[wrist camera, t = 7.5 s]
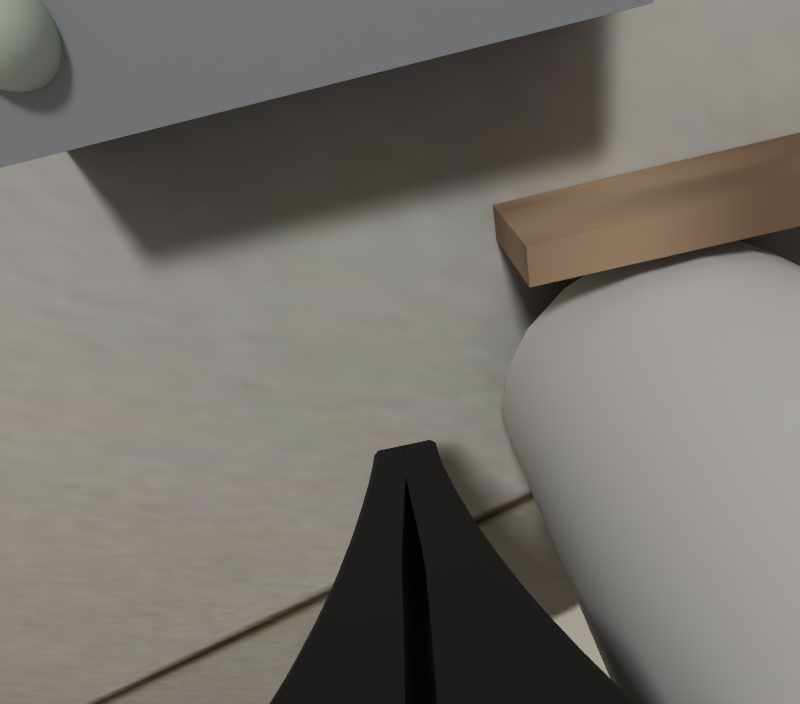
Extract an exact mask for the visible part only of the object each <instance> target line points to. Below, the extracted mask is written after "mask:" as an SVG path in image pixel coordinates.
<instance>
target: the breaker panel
mask: <svg viewBox="0 0 800 704" xmlns="http://www.w3.org/2000/svg"><path fill="white" fill-rule="evenodd" d="M651 3H653V0H0V168H1V167H5V166H9V165H13V164H17V163H21V162H25V161H29V160H33V159H37V158H41V157H45V156H49V155H53V154H57V153H61V152H65V151H69V150H73V149H77V148H81V147H85V146H89V145H93V144H97V143H101V142H104V141H108V140H112V139H116V138H120V137H124V136H128V135H132V134H136V133H140V132H144V131H148V130H152V129H156V128H160V127H164V126H168V125H172V124H176V123H180V122H184V121H188V120H192V119H196V118H200V117H204V116H207V115H211V114H215V113H219V112H223V111H227V110H231V109H235V108H239V107H243V106H247V105H251V104H255V103H259V102H263V101H267V100H271V99H275V98H279V97H283V96H287V95H291V94H295V93H299V92H303V91H307V90H310V89H314V88H318V87H322V86H326V85H330V84H334V83H338V82H342V81H346V80H350V79H354V78H358V77H362V76H366V75H370V74H374V73H378V72H382V71H386V70H390V69H394V68H398V67H402V66H406V65H410V64H413V63H417V62H421V61H425V60H429V59H433V58H437V57H441V56H445V55H449V54H453V53H457V52H461V51H465V50H469V49H473V48H477V47H481V46H485V45H489V44H493V43H497V42H501V41H505V40H509V39H513V38H516V37H520V36H524V35H528V34H532V33H536V32H540V31H544V30H548V29H552V28H556V27H560V26H564V25H568V24H572V23H576V22H580V21H584V20H588V19H592V18H596V17H600V16H604V15H608V14H612V13H616V12H619V11H623V10H627V9H631V8H635V7H639V6H643V5H647V4H651Z"/></svg>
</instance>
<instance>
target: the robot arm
mask: <svg viewBox="0 0 800 704" xmlns="http://www.w3.org/2000/svg"><path fill="white" fill-rule="evenodd" d="M270 704H637V703H636V702H634V701H633V700H632V699H631V698H630V697H629V696H628V695H627V694H626V693H625V692H624V691H623V690H622V689H621V688H620V687H618V686H617V685H616V684H615V683H614V682H613V681H612V680H611V679H610V678H609V677H608V676H607V675H606V674H605V673H604V672H603V671H602V670H601V669H600V668H599V667H598V666H597V665H596V664H595V663H594V662H593V661H592V660H591V659H590V658H589V657H588V656H587V655H586V654H584V653H583V652H582V650H581V649H580V648H579V647H578V646H577V645H576V644H575V643H574V642H573V641H572V640H571V639H570V638H569V637H568V635H567V634H566V633H565V632H564V631H563V630H562V629H561V628H560V627H559V626H558V625H557V624H556V623H555V622H554V621H553V619H552V618H551V617H550V616H549V615H548V614H547V613H546V612H545V611H544V610H543V609H542V608H541V606H540V605H539V604H538V603H537V602H536V601H535V599H534V598H533V597H532V596H531V595H530V594H529V592H528V591H527V590H526V589H525V588H524V587H523V585H522V584H521V583H520V582H519V580H518V579H517V578H516V577H515V575H514V574H513V573H512V572H511V571H510V569H509V568H508V567H507V565H506V564H505V563H504V562H503V560H502V559H501V558H500V556H499V555H498V554H497V552H496V551H495V550H494V548H493V547H492V545H491V544H490V543H489V541H488V540H487V538H486V537H485V536H484V534H483V533H482V531H481V530H480V528H479V527H478V525H477V524H476V522H475V521H474V519H473V518H472V516H471V515H470V513H469V511H468V510H467V508H466V506H465V505H464V503H463V502H462V500H461V498H460V497H459V495H458V493H457V491H456V490H455V488H454V486H453V484H452V482H451V480H450V478H449V476H448V474H447V472H446V470H445V468H444V466H443V464H442V461H441V459H440V456H439V453H438V450H437V446H436V443H435V442H433V441H431V440H427V441H423V442H418V443H413V444H408V445H404V446H399V447H394V448H390V449H385V450H380V451H378V452H377V453H376V454H375V456H374V461H373V467H372V472H371V476H370V480H369V484H368V488H367V492H366V495H365V499H364V502H363V506H362V509H361V512H360V515H359V518H358V521H357V524H356V527H355V530H354V533H353V536H352V539H351V542H350V544H349V547H348V549H347V552H346V555H345V557H344V560H343V562H342V565H341V567H340V570H339V572H338V575H337V577H336V580H335V582H334V584H333V586H332V589H331V591H330V593H329V595H328V598H327V600H326V602H325V604H324V606H323V608H322V610H321V612H320V614H319V617H318V619H317V621H316V623H315V625H314V627H313V629H312V630H311V632H310V634H309V636H308V638H307V640H306V642H305V644H304V646H303V647H302V649H301V651H300V653H299V655H298V657H297V659H296V660H295V662H294V664H293V666H292V668H291V669H290V671H289V673H288V675H287V676H286V678H285V680H284V681H283V683H282V685H281V686H280V688H279V690H278V691H277V693H276V694H275V696H274V698H273V699H272V701H271V702H270Z"/></svg>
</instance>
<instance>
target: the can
mask: <svg viewBox="0 0 800 704" xmlns="http://www.w3.org/2000/svg"><path fill="white" fill-rule="evenodd" d="M502 413H503V417H504V420H505V424H506V427H507V431H508V434H509V438H510V441H511V444H512V447H513V449H514V451H515V454H516V456H517V458H518V461H519V463H520V465H521V468H522V470H523V473H524V475H525V477H526V480H527V482H528V484H529V487H530V489H531V491H532V494H533V496H534V499H535V501H536V503H537V506H538V508H539V510H540V513H541V515H542V517H543V520H544V522H545V525H546V527H547V529H548V532H549V534H550V536H551V539H552V541H553V543H554V546H555V548H556V551H557V553H558V555H559V558H560V560H561V562H562V565H563V567H564V569H565V572H566V574H567V577H568V579H569V581H570V584H571V586H572V588H573V591H574V593H575V595H576V598H577V600H578V603H579V605H580V607H581V610H582V612H583V614H584V616H585V619H586V621H587V624H588V626H589V629H590V631H591V633H592V636H593V638H594V640H595V643H596V645H597V648H598V650H599V652H600V655H601V657H602V659H603V662H604V664H605V666H606V669H607V671H608V674H609V676H610V678H611V680H612V681H613V682H614V683H615V684H616V685H617V686H618V687H620V688H621V689H622V690H623V691H624V692H625V693H626V694H627V695H628V696H629V697H630V698H631V699H632V700H633V701H634V702H636V703H637V704H800V266H799V265H796V264H794V263H792V262H790V261H788V260H786V259H784V258H782V257H780V256H778V255H776V254H774V253H772V252H770V251H768V250H766V249H763V248H760V247H757V246H754V245H751V244H748V243H745V242H742V241H739V240H737V241H733V242H729V243H724V244H720V245H715V246H711V247H707V248H702V249H698V250H693V251H689V252H684V253H680V254H676V255H671V256H667V257H662V258H658V259H654V260H649V261H645V262H640V263H636V264H631V265H627V266H623V267H618V268H614V269H609V270H605V271H601V272H596V273H592V274H587V275H584V276H583V277H581V278H580V279H578V280H576V281H575V282H573V283H572V284H570V285H569V286H567V287H566V288H564V289H563V290H562V291H561V293H560V294H559V295H558V296H557V297H556V298H555V299H554V300H553V301H552V302H551V304H550V305H549V306H548V307H547V308H546V309H545V310H544V311H543V312H542V313H541V315H540V316H539V317H538V318H537V319H536V320H535V321H534V322H533V323H532V324H531V326H530V327H529V328H528V329H527V331H526V333H525V335H524V337H523V339H522V341H521V343H520V345H519V347H518V349H517V351H516V353H515V355H514V357H513V359H512V361H511V363H510V365H509V367H508V369H507V371H506V379H505V387H504V395H503V403H502Z"/></svg>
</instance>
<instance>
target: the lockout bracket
mask: <svg viewBox="0 0 800 704" xmlns="http://www.w3.org/2000/svg"><path fill="white" fill-rule="evenodd" d="M493 211H494V220H495V229H496V238H497V241H498V243H499V244H500V246H501V247H502V248H503V250H504V251H505V253H506V254H507V256H508V257H509V259H510V260H511V261H512V263H513V264H514V266H515V267H516V269H517V270H518V272H519V273H520V274H521V276H522V277H523V279H524V280H525V282H526V283H527V285H528V286H529V287H534V286H539V285H543V284H548V283H552V282H556V281H561V280H565V279H570V278H574V277H578V276H583V275H587V274H592V273H596V272H601V271H605V270H609V269H614V268H618V267H623V266H627V265H631V264H636V263H640V262H645V261H649V260H654V259H658V258H662V257H667V256H671V255H676V254H680V253H684V252H689V251H693V250H698V249H702V248H707V247H711V246H715V245H720V244H724V243H729V242H733V241H737V240H742V239H746V238H751V237H755V236H760V235H764V234H768V233H773V232H777V231H782V230H786V229H790V228H795V227H799V226H800V133H797V134H793V135H788V136H784V137H780V138H776V139H772V140H767V141H763V142H759V143H755V144H750V145H746V146H742V147H738V148H733V149H729V150H725V151H721V152H716V153H712V154H708V155H704V156H699V157H695V158H691V159H687V160H682V161H678V162H674V163H670V164H665V165H661V166H657V167H653V168H649V169H644V170H640V171H636V172H632V173H627V174H623V175H619V176H615V177H610V178H606V179H602V180H598V181H593V182H589V183H585V184H581V185H576V186H572V187H568V188H564V189H559V190H555V191H551V192H547V193H542V194H538V195H534V196H530V197H526V198H521V199H517V200H513V201H509V202H504V203H500V204H496V205H493Z"/></svg>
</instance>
